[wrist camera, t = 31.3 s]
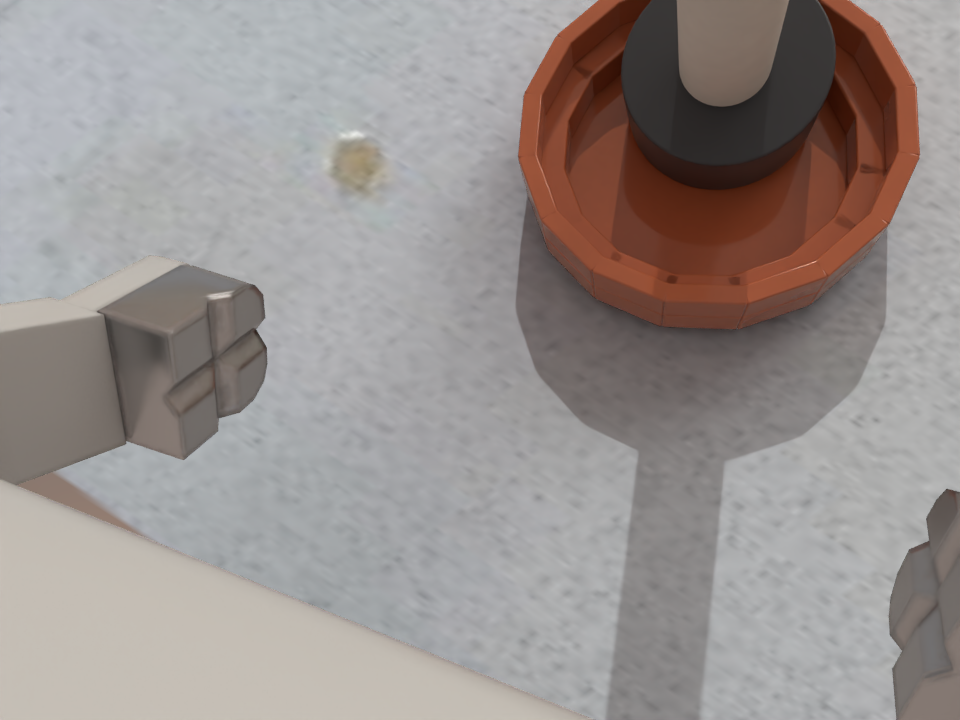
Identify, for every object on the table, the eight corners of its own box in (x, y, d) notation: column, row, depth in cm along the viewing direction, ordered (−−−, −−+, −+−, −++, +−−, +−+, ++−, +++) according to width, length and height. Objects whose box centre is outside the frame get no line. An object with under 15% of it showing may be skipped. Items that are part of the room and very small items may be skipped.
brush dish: (801, 393, 24) (824, 368, 21) (473, 252, 28) (455, 214, 25) (942, 84, 26) (980, 23, 23) (619, -14, 29) (618, -78, 27)
